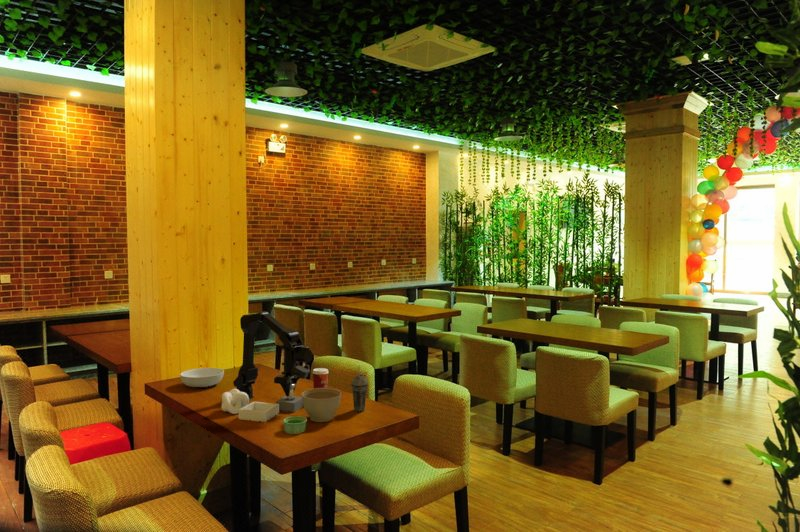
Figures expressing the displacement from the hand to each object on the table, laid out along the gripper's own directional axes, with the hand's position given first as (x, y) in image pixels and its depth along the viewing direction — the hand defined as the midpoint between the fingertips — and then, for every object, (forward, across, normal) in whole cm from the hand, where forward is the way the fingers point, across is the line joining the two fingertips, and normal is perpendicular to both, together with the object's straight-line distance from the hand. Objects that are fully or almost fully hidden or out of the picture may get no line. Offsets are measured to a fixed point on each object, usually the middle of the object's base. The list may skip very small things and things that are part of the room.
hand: (289, 395), depth 238 cm
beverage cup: (+6, +7, -30) cm, 31 cm away
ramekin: (+6, -25, -15) cm, 30 cm away
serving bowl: (+6, +20, +59) cm, 63 cm away
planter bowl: (+6, -9, -19) cm, 22 cm away
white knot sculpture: (+6, -11, +21) cm, 25 cm away
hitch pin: (+6, 0, 0) cm, 6 cm away
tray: (+6, -14, +7) cm, 17 cm away
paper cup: (+6, +17, -7) cm, 19 cm away
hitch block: (+6, 0, 0) cm, 6 cm away
